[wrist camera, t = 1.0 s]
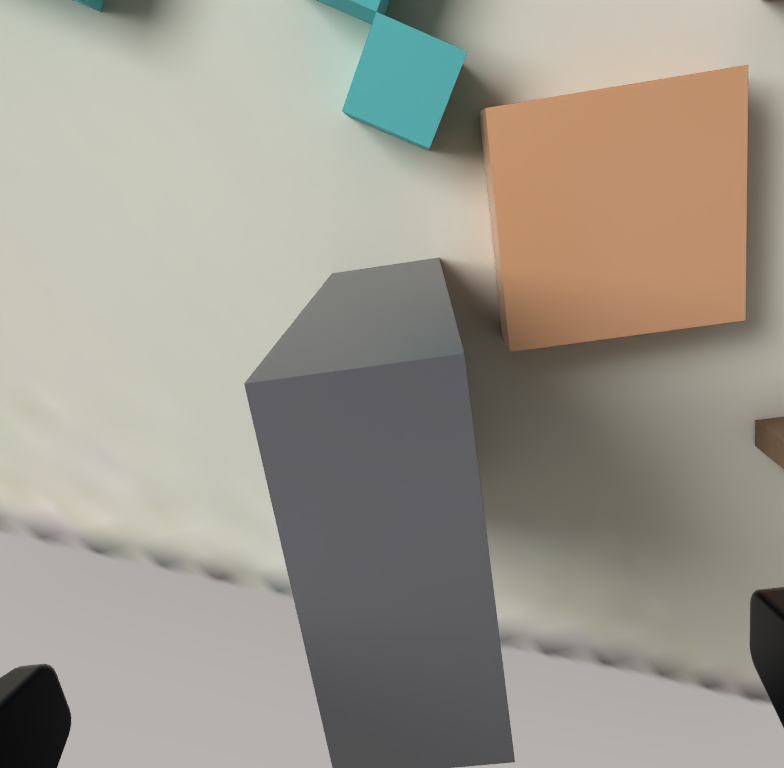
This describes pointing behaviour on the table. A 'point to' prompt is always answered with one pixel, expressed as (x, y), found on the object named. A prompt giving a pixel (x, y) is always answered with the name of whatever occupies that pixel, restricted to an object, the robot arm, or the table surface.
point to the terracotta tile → (619, 209)
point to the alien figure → (394, 74)
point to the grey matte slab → (385, 521)
